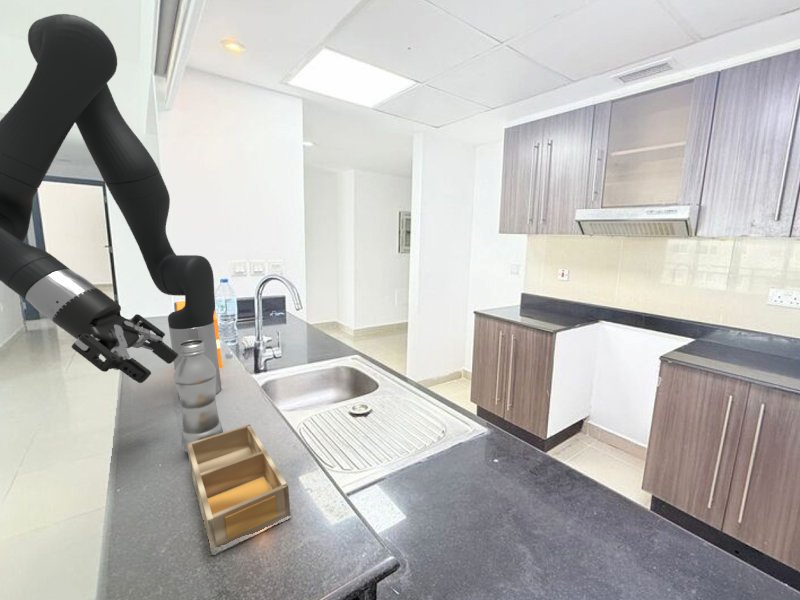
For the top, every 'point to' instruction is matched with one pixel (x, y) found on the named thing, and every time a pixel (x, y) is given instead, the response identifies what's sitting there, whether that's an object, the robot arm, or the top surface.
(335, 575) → the top surface
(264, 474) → the tray
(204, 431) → the plastic bottle
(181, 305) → the orange juice
